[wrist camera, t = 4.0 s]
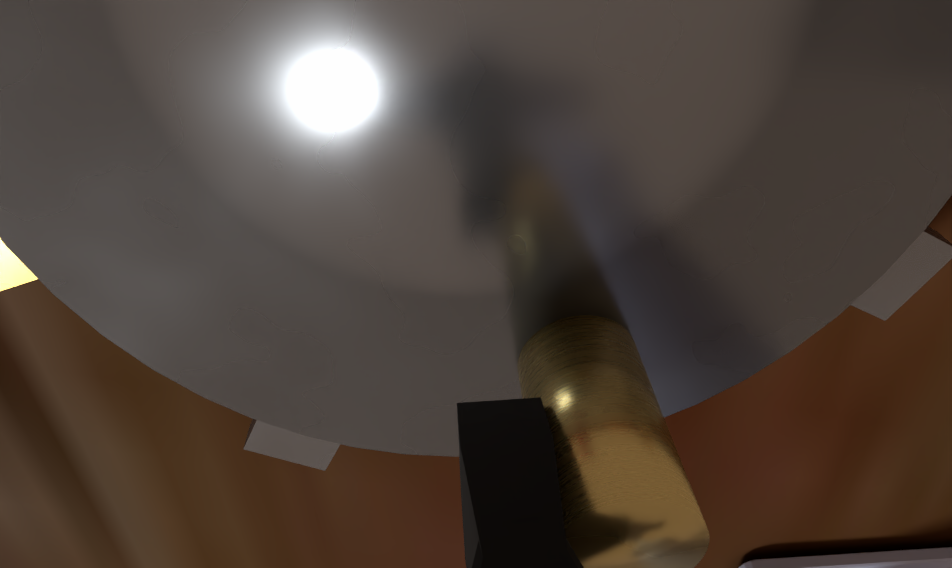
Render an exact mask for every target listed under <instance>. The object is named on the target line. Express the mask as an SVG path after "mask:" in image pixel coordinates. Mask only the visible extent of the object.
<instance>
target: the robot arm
mask: <svg viewBox="0 0 952 568" xmlns="http://www.w3.org/2000/svg"><path fill="white" fill-rule="evenodd" d="M457 417H458V438H459V458H460V479H461V498H462V514H463V530H464V546H465V560H466V567H467V568H584V567H583V566H582V564H581V562H580V561H579V559H578V557H577V556H576V554H575V552H574V550H573V549H572V547H571V545H570V544H569V542H568V540H567V538H566V534H565V526H564V518H563V510H562V502H561V494H560V486H559V479H558V471H557V463H556V455H555V448H554V440H553V436H552V432H551V429H550V425H549V422H548V419H547V415H546V412H545V409H544V406H543V403H542V400H541V397H539V398H524V399H508V400H493V401H478V402H462V403H457ZM739 568H952V547H943V548H927V549H911V550H896V551H880V552H864V553H849V554H833V555H817V556H802V557H786V558H770V559H756V560H750V561H748V562H745V563H743V564H742V565H740V566H739Z"/></svg>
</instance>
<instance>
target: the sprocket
mask: <svg viewBox="0 0 952 568" xmlns="http://www.w3.org/2000/svg"><path fill="white" fill-rule="evenodd" d="M951 195H952V0H0V291H2V290H5V289H9V288H12V287H15V286H18V285H21V284H24V283H27V282H30V281H33V280H36V279H39V280H40V281H41V282H42V283H43V284H44V285H45V286H46V287H47V288H48V289H49V290H50V291H51V292H52V293H53V294H54V295H55V296H56V297H57V298H58V299H60V300H61V301H62V302H63V303H64V304H66V305H67V306H68V307H69V308H70V309H72V310H73V311H74V312H75V313H76V314H78V315H79V316H80V317H81V318H82V319H84V320H85V321H86V322H87V323H88V324H90V325H91V326H92V327H93V328H94V329H96V330H97V331H98V332H99V333H100V334H102V335H103V336H104V337H106V338H107V339H109V340H110V341H112V342H113V343H115V344H116V345H118V346H119V347H120V348H122V349H123V350H125V351H126V352H128V353H129V354H131V355H132V356H134V357H135V358H137V359H138V360H140V361H141V362H142V363H144V364H145V365H147V366H148V367H150V368H151V369H153V370H155V371H156V372H158V373H160V374H162V375H164V376H166V377H167V378H169V379H171V380H173V381H175V382H176V383H178V384H180V385H182V386H184V387H186V388H187V389H189V390H191V391H193V392H195V393H196V394H198V395H200V396H202V397H204V398H206V399H209V400H211V401H213V402H215V403H218V404H220V405H222V406H225V407H227V408H229V409H232V410H234V411H236V412H239V413H241V414H243V415H245V416H248V417H250V418H252V419H253V420H252V422H251V424H250V428H249V431H248V435H247V438H246V442H245V445H244V449H245V450H249V451H252V452H256V453H260V454H264V455H268V456H271V457H275V458H279V459H283V460H287V461H290V462H294V463H298V464H302V465H305V466H309V467H313V468H317V469H321V470H324V471H325V470H326V468H327V467H328V465H329V463H330V461H331V460H332V458H333V456H334V454H335V453H336V451H337V449H338V447H339V446H340V444H343V445H347V446H351V447H357V448H364V449H371V450H379V451H386V452H393V453H400V454H413V455H434V456H459V438H458V417H457V403H462V402H478V401H493V400H508V399H524V398H539V397H541V400H542V403H543V406H544V409H545V412H546V415H547V419H548V422H549V425H550V429H551V432H552V436H553V440H554V448H555V455H556V463H557V471H558V479H559V486H560V494H561V502H562V510H563V518H564V526H565V534H566V538H567V540H568V542H569V544H570V545H571V547H572V549H573V550H574V552H575V554H576V556H577V557H578V559H579V561H580V562H581V564H582V566H583V567H584V568H694V567H695V566H696V565H697V564H698V563H699V562H700V560H701V559H702V558H703V556H704V554H705V553H706V551H707V548H708V545H709V532H708V529H707V526H706V524H705V521H704V519H703V516H702V514H701V511H700V509H699V506H698V503H697V501H696V498H695V496H694V493H693V491H692V488H691V485H690V483H689V480H688V478H687V475H686V473H685V470H684V468H683V465H682V462H681V460H680V457H679V455H678V452H677V450H676V447H675V444H674V442H673V439H672V437H671V434H670V432H669V429H668V426H667V424H666V421H665V419H664V417H666V416H669V415H671V414H674V413H676V412H678V411H681V410H683V409H686V408H688V407H691V406H693V405H696V404H698V403H700V402H702V401H704V400H706V399H708V398H710V397H712V396H714V395H716V394H718V393H720V392H722V391H724V390H726V389H728V388H730V387H732V386H734V385H736V384H738V383H739V382H741V381H743V380H745V379H747V378H748V377H750V376H752V375H753V374H755V373H757V372H758V371H760V370H761V369H763V368H765V367H766V366H768V365H769V364H771V363H773V362H774V361H776V360H777V359H779V358H781V357H782V356H784V355H785V354H787V353H789V352H790V351H792V350H793V349H794V348H796V347H797V346H798V345H800V344H801V343H802V342H804V341H805V340H806V339H808V338H809V337H810V336H812V335H813V334H814V333H816V332H817V331H818V330H820V329H821V328H822V327H824V326H825V325H826V324H828V323H829V322H830V321H832V320H833V319H834V318H836V317H837V316H838V315H839V314H840V313H842V312H843V311H844V310H845V309H846V308H847V307H848V306H849V305H852V306H854V307H856V308H859V309H861V310H863V311H865V312H867V313H869V314H872V315H874V316H876V317H878V318H880V319H882V320H885V321H886V320H887V319H888V318H889V317H890V316H891V315H892V314H893V313H894V312H895V311H896V310H897V309H898V308H899V307H901V306H902V305H903V304H904V303H905V302H906V301H907V300H908V299H909V298H910V297H911V296H912V295H913V294H914V293H915V292H917V291H918V290H919V289H920V288H921V287H922V286H923V285H924V284H925V283H926V282H927V281H928V280H929V279H930V278H931V277H933V276H934V275H935V274H936V273H937V272H938V271H939V270H940V269H941V268H942V267H943V266H944V265H945V264H946V263H947V262H949V261H950V260H951V259H952V244H951V243H950V242H949V241H948V240H947V239H945V238H944V237H943V236H942V235H941V234H939V233H938V232H937V231H935V230H933V229H931V228H930V227H928V225H929V224H930V223H931V221H932V220H933V219H934V217H935V216H936V215H937V214H938V212H939V211H940V210H941V208H942V207H943V206H944V204H945V203H946V202H947V200H948V199H949V198H950V197H951Z"/></svg>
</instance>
